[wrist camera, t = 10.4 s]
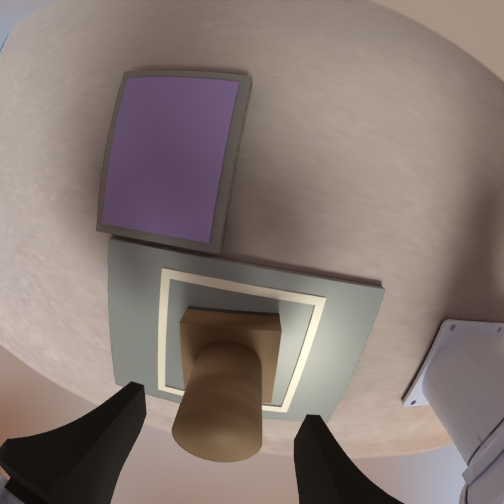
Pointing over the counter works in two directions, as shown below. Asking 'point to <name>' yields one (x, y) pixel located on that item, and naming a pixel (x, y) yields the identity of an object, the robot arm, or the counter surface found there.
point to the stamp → (225, 381)
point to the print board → (243, 299)
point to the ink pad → (173, 157)
